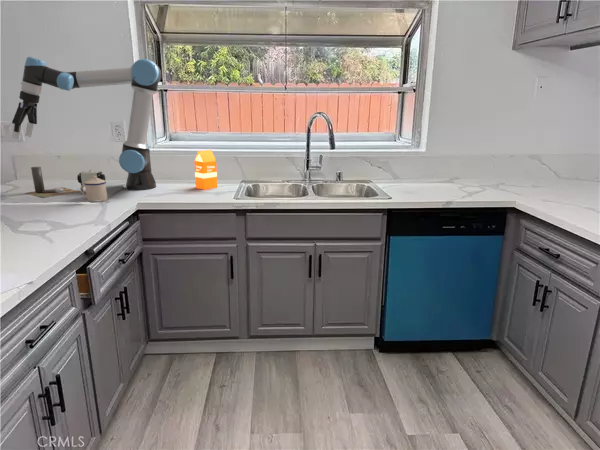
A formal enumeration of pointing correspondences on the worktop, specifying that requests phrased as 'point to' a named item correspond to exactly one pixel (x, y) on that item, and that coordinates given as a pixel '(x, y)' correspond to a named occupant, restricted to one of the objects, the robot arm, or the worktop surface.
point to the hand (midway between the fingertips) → (22, 137)
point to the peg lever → (41, 182)
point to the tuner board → (52, 193)
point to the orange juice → (205, 170)
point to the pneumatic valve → (89, 176)
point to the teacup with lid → (95, 189)
